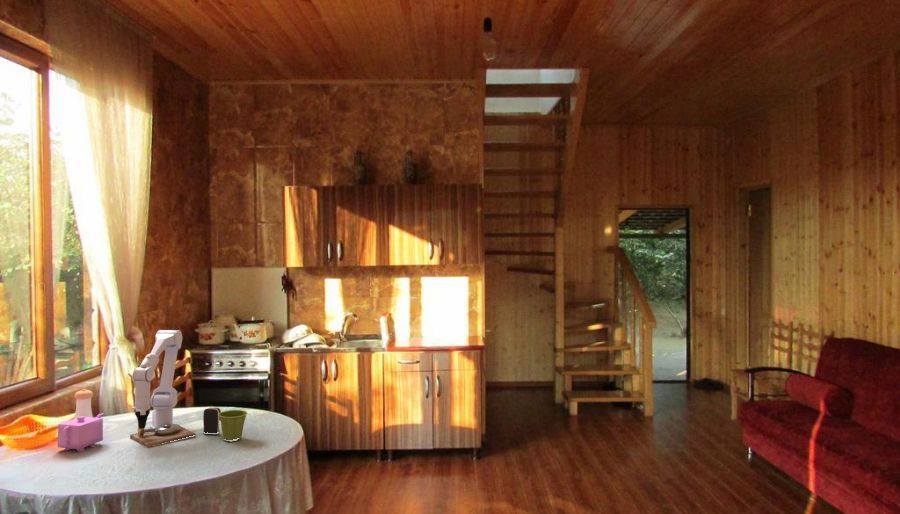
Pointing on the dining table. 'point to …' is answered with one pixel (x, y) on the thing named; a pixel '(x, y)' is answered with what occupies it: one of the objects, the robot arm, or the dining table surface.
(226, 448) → the dining table surface
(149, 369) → the robot arm
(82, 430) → the teapot
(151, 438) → the cutting board
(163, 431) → the crank handle wheel
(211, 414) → the battery charger
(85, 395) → the pepper shaker
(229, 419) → the plant pot
